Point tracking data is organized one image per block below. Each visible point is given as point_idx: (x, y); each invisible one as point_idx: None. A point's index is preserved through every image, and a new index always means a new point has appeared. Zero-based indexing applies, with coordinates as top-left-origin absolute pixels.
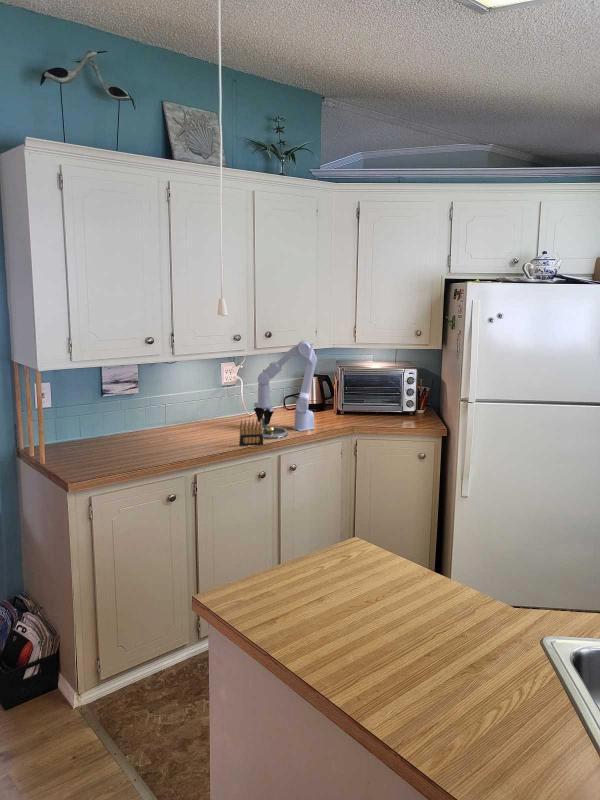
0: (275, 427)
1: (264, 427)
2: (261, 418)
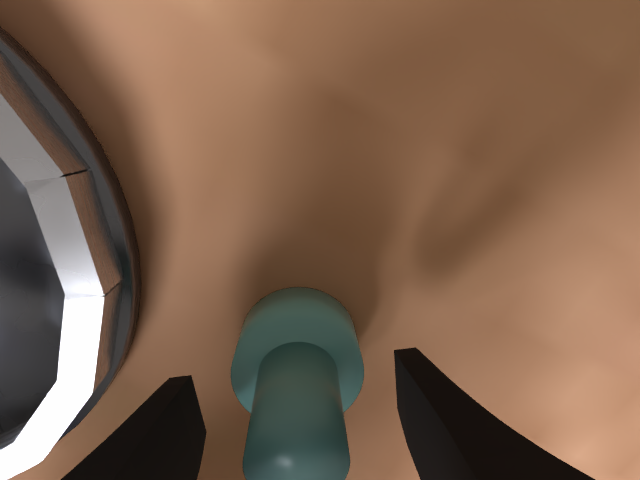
0: (15, 440)
1: (66, 297)
2: (329, 433)
